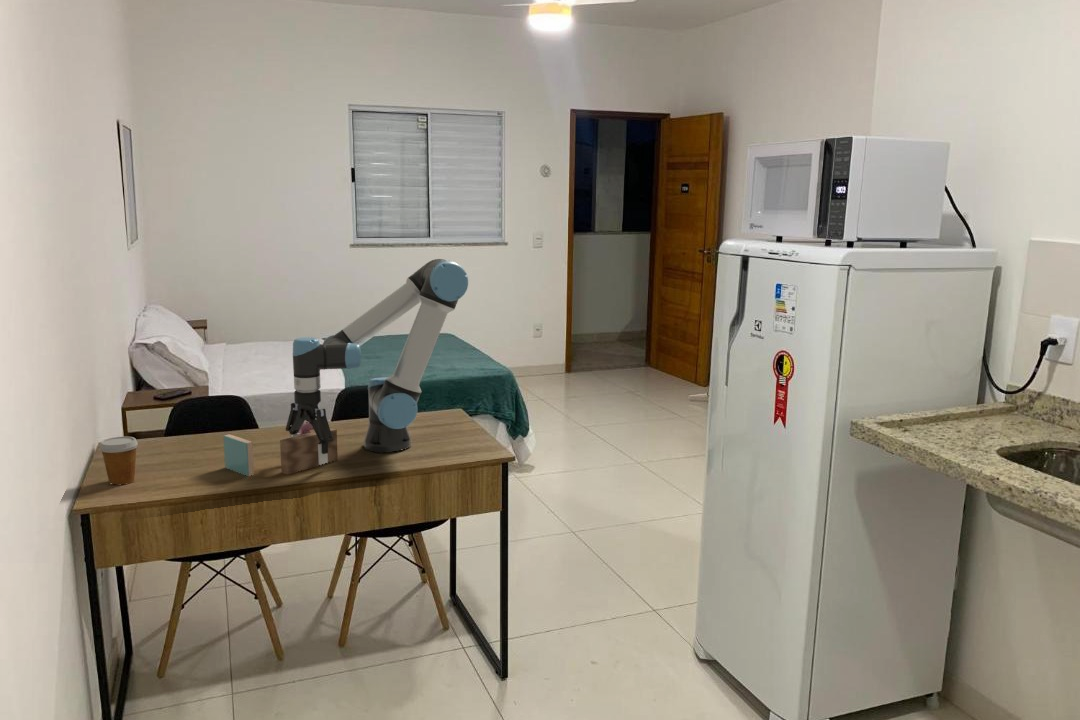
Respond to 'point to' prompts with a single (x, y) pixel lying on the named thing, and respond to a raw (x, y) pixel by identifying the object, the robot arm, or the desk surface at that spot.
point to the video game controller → (305, 428)
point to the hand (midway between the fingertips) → (309, 459)
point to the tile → (238, 455)
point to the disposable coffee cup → (119, 459)
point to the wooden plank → (304, 452)
